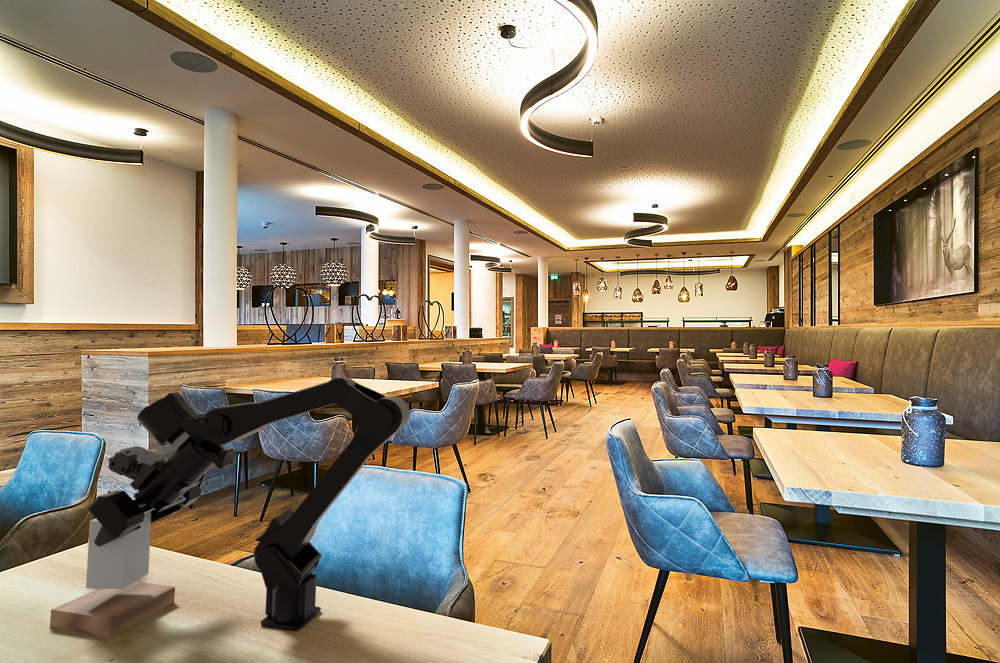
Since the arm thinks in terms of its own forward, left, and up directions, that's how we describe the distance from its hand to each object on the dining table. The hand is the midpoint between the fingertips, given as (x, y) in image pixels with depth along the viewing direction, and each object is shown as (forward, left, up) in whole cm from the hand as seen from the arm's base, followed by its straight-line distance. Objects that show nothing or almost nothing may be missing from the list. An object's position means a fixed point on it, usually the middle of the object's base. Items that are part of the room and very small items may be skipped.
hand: (111, 537), depth 81 cm
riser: (-1, 0, -12) cm, 12 cm away
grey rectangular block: (-1, 0, -7) cm, 7 cm away
